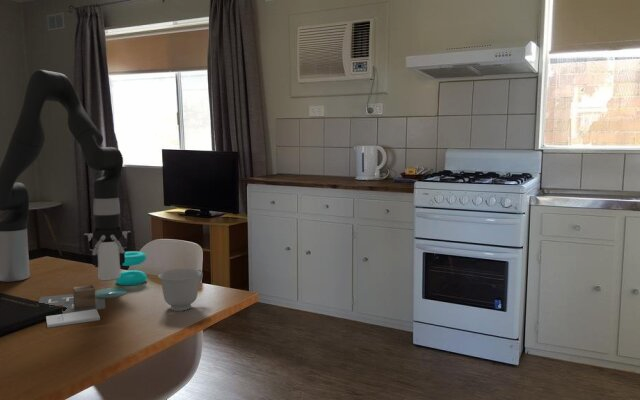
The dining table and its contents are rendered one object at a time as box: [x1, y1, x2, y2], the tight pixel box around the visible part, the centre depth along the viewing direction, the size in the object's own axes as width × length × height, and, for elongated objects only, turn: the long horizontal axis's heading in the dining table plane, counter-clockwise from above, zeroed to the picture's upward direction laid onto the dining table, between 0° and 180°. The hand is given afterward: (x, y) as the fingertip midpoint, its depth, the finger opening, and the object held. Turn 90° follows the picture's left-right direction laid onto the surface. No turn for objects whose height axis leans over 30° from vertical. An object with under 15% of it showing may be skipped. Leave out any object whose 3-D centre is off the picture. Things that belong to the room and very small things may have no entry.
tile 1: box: [38, 293, 74, 307], centre depth 153 cm, size 11×11×1 cm
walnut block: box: [72, 284, 96, 309], centre depth 149 cm, size 5×5×5 cm
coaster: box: [95, 287, 128, 299], centre depth 161 cm, size 10×10×1 cm
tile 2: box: [61, 298, 106, 314], centre depth 149 cm, size 11×11×1 cm
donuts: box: [115, 250, 148, 286], centre depth 174 cm, size 10×10×10 cm
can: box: [97, 241, 121, 282], centre depth 160 cm, size 6×6×12 cm
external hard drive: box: [45, 309, 101, 329], centre depth 137 cm, size 2×8×12 cm
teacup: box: [157, 268, 204, 312], centre depth 148 cm, size 12×15×10 cm
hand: (108, 265), depth 160 cm, fingers closed on can, 6 cm apart
